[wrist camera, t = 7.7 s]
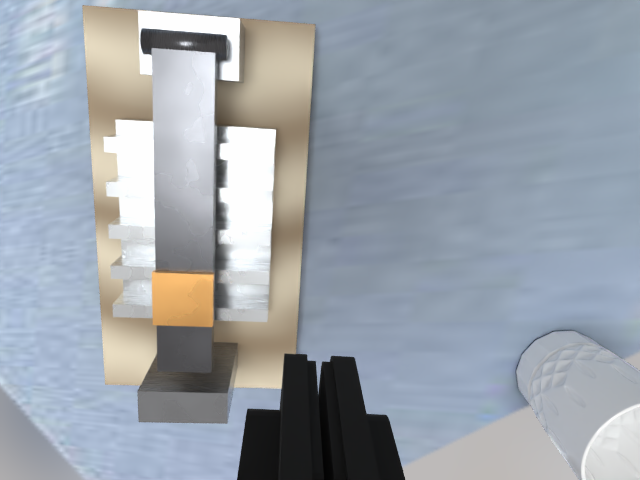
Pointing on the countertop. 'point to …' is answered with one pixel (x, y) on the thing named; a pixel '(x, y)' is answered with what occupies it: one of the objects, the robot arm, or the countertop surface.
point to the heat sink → (230, 238)
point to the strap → (184, 193)
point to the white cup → (585, 404)
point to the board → (232, 109)
